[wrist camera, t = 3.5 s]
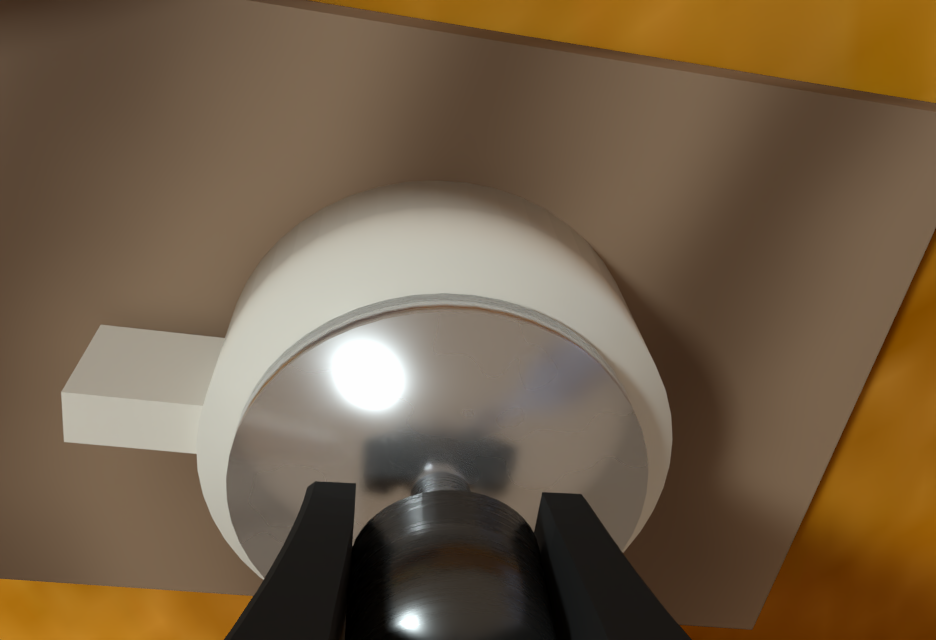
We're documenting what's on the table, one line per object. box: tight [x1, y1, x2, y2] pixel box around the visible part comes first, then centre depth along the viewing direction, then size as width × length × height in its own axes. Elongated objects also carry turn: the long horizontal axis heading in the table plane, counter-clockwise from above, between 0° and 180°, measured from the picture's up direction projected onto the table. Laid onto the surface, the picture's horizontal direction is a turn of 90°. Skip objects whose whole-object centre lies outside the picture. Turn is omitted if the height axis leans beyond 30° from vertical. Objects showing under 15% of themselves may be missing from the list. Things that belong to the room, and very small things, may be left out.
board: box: [0, 0, 936, 630], centre depth 18 cm, size 20×13×1 cm, turn 80°
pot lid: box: [226, 293, 649, 640], centre depth 13 cm, size 7×7×4 cm
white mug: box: [61, 181, 672, 580], centre depth 16 cm, size 10×8×3 cm
